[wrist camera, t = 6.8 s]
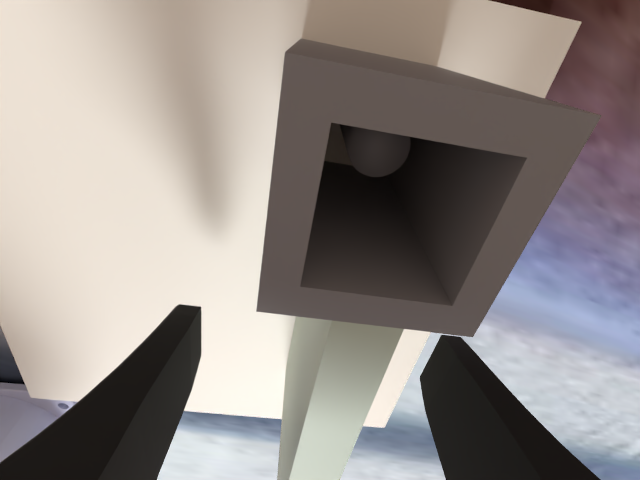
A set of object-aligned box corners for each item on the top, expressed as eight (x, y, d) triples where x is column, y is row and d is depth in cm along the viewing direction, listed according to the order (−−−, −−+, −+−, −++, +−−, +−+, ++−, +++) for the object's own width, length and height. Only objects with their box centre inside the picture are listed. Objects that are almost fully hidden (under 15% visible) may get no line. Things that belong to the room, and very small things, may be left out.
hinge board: (379, 400, 19) (398, 508, 15) (51, 370, 17) (-35, 483, 13) (546, 23, 10) (727, 17, 6) (-122, -131, 8) (-621, -314, 4)
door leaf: (338, 374, 15) (352, 544, 10) (258, 366, 15) (230, 539, 10) (437, 66, 9) (602, 115, 4) (301, 38, 9) (284, 52, 4)
